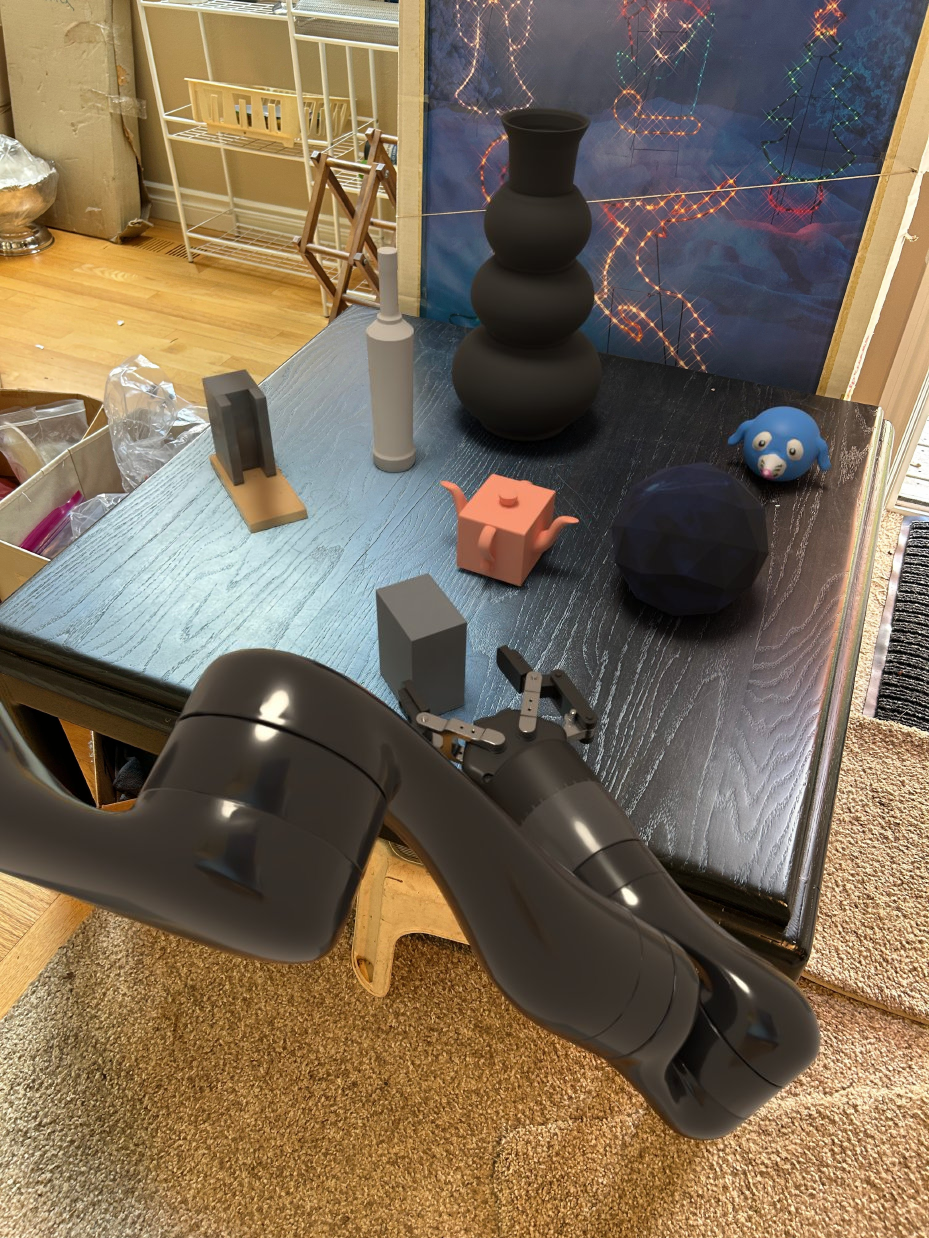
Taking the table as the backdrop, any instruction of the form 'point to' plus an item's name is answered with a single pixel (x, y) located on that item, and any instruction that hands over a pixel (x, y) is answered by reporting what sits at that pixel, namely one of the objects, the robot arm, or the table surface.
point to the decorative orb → (690, 539)
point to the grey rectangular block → (422, 642)
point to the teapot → (505, 527)
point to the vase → (532, 289)
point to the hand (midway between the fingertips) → (453, 670)
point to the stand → (248, 452)
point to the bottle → (391, 373)
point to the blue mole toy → (782, 444)
